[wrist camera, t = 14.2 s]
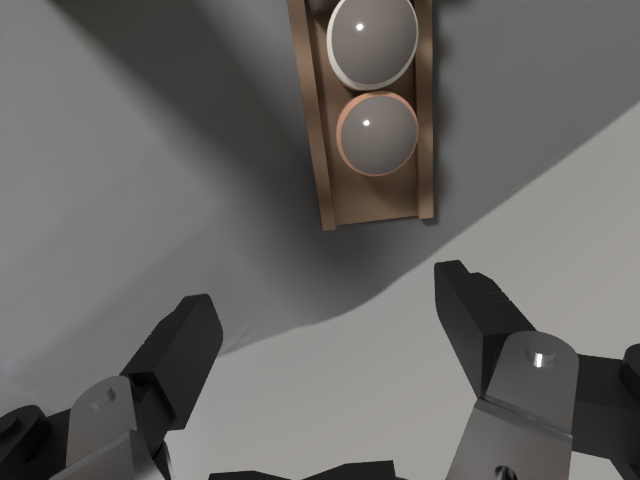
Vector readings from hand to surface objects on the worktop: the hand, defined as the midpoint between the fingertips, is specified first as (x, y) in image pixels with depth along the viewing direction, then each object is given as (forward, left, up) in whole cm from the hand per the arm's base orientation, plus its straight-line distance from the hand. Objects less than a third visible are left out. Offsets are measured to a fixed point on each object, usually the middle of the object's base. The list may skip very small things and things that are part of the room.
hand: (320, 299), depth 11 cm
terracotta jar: (-4, +4, -19) cm, 20 cm away
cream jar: (-9, +4, -19) cm, 21 cm away
